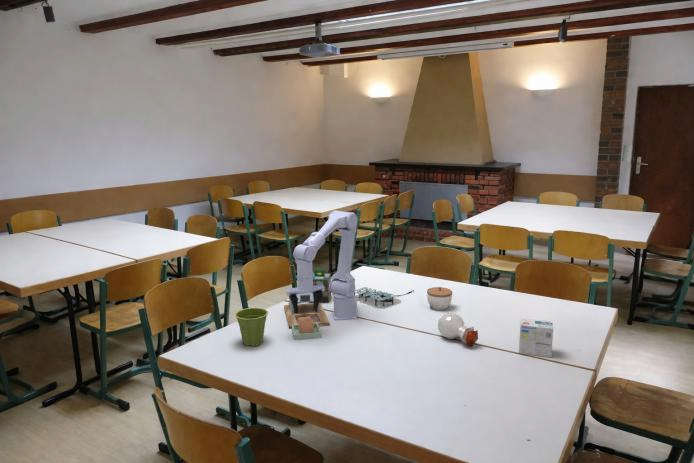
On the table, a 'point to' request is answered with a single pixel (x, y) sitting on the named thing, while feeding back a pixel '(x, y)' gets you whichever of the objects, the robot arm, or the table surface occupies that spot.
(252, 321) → the plant pot
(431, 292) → the lidded jar
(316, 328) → the tray
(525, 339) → the light bulb box
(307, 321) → the block
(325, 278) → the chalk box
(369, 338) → the table surface
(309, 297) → the cover
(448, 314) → the potion bottle
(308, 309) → the board
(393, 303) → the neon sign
